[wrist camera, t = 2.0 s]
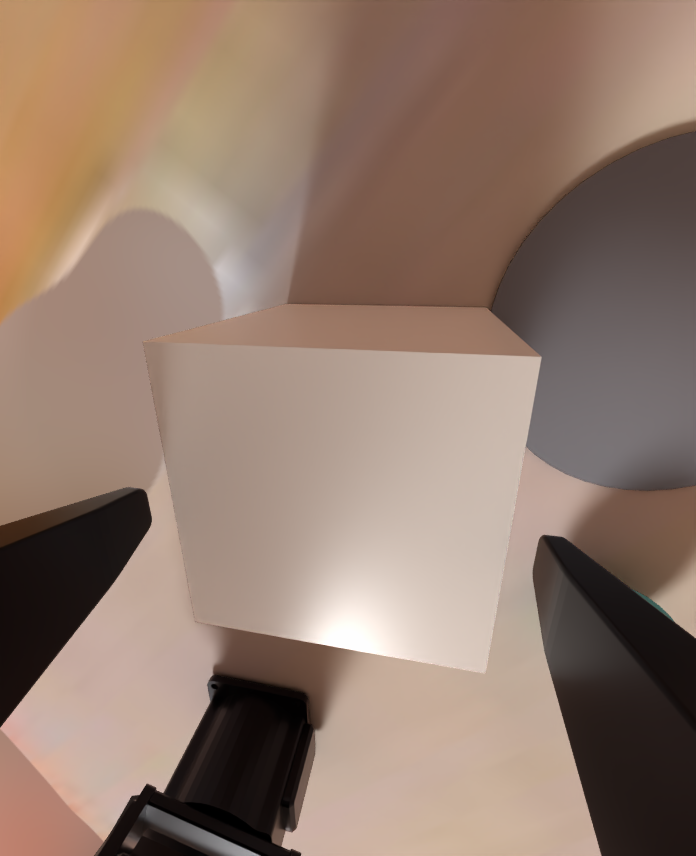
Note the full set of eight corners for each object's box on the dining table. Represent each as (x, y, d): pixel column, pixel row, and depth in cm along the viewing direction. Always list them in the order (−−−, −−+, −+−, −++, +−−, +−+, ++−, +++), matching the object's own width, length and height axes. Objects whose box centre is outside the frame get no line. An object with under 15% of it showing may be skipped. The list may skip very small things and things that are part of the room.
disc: (469, 473, 18) (469, 475, 17) (511, 139, 13) (511, 138, 13) (801, 503, 15) (805, 506, 15) (988, 113, 11) (997, 111, 11)
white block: (295, 473, 19) (195, 621, 11) (286, 303, 16) (142, 341, 8) (464, 490, 18) (485, 673, 10) (486, 307, 15) (541, 357, 7)
